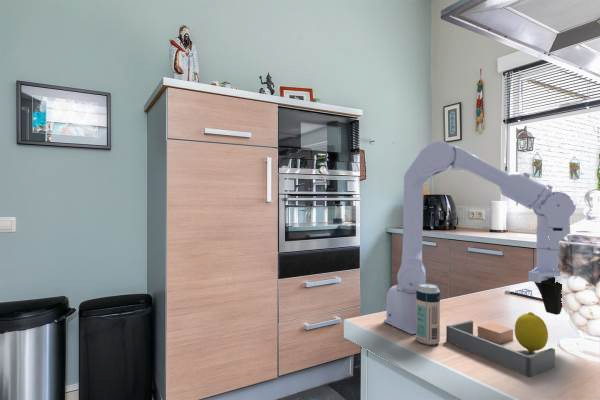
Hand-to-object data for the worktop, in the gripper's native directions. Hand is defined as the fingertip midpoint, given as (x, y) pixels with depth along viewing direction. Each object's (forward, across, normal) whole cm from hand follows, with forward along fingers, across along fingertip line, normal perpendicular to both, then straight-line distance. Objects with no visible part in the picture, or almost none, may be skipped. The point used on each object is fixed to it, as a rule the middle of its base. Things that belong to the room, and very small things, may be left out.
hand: (552, 313), depth 72 cm
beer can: (+7, -23, +13) cm, 27 cm away
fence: (+7, -15, +3) cm, 16 cm away
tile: (+7, -7, +8) cm, 13 cm away
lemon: (+7, -8, 0) cm, 11 cm away
